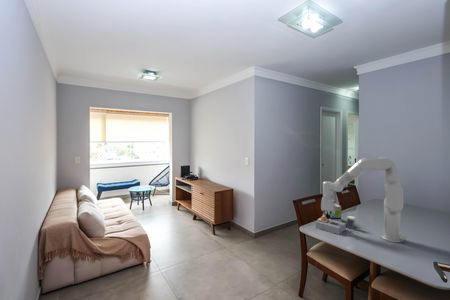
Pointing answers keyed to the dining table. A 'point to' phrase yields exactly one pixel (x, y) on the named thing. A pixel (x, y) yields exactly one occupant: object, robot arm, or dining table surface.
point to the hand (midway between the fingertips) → (328, 218)
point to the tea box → (337, 214)
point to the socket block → (331, 226)
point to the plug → (350, 222)
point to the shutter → (323, 219)
